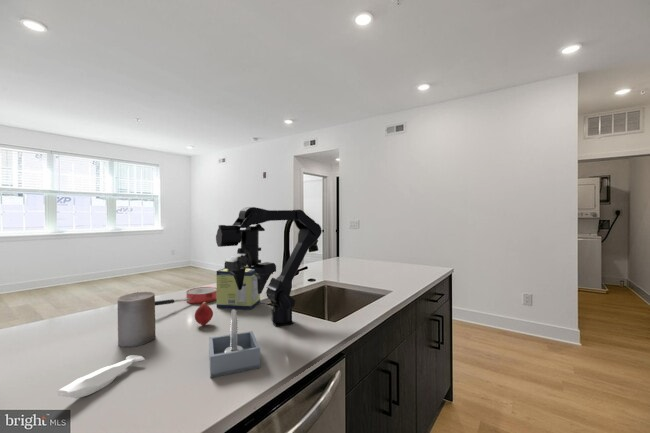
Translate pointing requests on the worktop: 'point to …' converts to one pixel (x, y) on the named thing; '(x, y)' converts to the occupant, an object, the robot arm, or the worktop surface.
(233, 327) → the screw
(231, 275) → the protein box
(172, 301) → the frying pan
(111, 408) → the worktop surface
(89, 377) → the white fish figurine
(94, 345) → the worktop surface
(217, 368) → the tote
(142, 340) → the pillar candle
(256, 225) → the robot arm
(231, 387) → the worktop surface
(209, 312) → the pomegranate
